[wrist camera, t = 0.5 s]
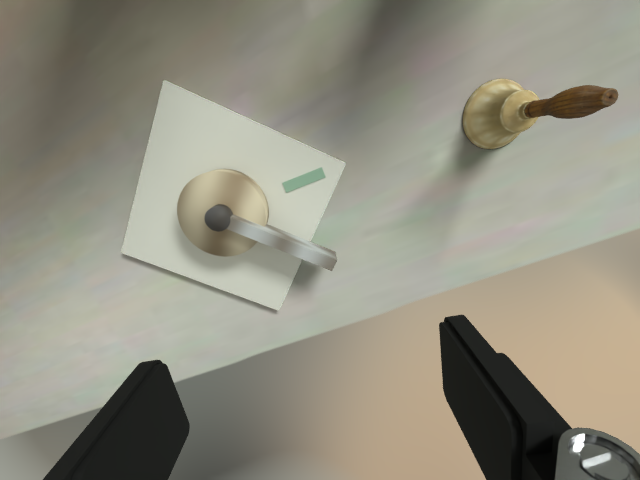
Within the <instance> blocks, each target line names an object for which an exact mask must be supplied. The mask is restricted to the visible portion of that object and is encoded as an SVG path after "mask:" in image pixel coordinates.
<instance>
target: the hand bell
mask: <svg viewBox="0 0 640 480" xmlns="http://www.w3.org/2000/svg"><path fill="white" fill-rule="evenodd" d="M617 99H618V92H617V90H616V89H613V88H603V87H599V86H592V85H585V86H579V87H574V88H571V89H568V90H565V91H563V92H561V93H559V94H557V95H555V96H554V97H552V98H549V99H543V100H539V98H538V96H537V95H536V94H535V93H533V92H532V91H529V90H524V89H523V88H522V87H521V86H520V85H519V84H518V83H516V82H514V81H512V80H509V79H495V80H491V81H489V82H487V83H485V84H483V85H482V86H480V87H479V88H478V89H477V90H476V91H475V92H474V93H473V94H472V95H471V97H470V98H469V100H468V102H467V104H466V106H465V109H464V113H463V127H464V131H465V134H466V136H467V137H468V139H469V140H470V141H471V142H472V143H473V144H475V145H476V146H478V147H480V148H484V149H496V148H500V147H502V146H505V145H507V144H508V143H510V142H511V141H513V140H514V139H515V138H516V137H517V136H518V135H519V134H520V133H521V132H523V131H525V130H527V129H529V128H530V127H531V126H532V125H533V124H534V123H535V122H536V120H537V119H538V117H540V116H546V115H551V116H553V117H556V118H565V119H570V118H580V117H585V116H588V115H590V114H593V113H595V112H597V111H599V110H601V109H603V108H605V107H608V106H611V105H612V104H614V103H615V102H616V100H617Z"/></svg>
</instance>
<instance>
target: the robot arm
mask: <svg viewBox="0 0 640 480" xmlns="http://www.w3.org/2000/svg"><path fill="white" fill-rule="evenodd" d="M439 329H440V345H441V361H442V376H443V389H444V394H445V397H446V400H447V402H448V404H449V406H450V408H451V409H452V412H453V414H454V416H455V418H456V420H457V422H458V424H459V426H460V428H461V430H462V432H463V433H464V436H465V438H466V440H467V442H468V444H469V446H470V448H471V450H472V452H473V454H474V456H475V458H476V460H477V462H478V464H479V466H480V468H481V470H482V472H483V474H484V475H485V478H486V480H640V454H639V453H637V452H636V451H635V450H634V449H633V448H632V447H630V446H629V445H627V444H626V443H624V442H622V441H621V440H619V439H618V438H616V437H613V436H611V435H609V434H607V433H604V432H601V431H597V430H594V429H590V428H574V429H572V428H571V427H570V426H569V425H568V423H567V422H566V421H565V420H564V419H563V418H562V417H561V416H560V415H559V413H557V411H556V410H555V409H554V408H553V407H552V406H551V404H550V403H549V402H548V401H547V400H546V399H545V398H544V397H543V395H542V394H541V393H540V392H539V391H538V390H537V389H536V388H535V387H534V385H533V384H532V383H531V382H530V381H529V380H528V379H527V378H526V376H525V375H523V373H522V372H521V371H520V370H519V369H518V368H517V366H516V365H515V364H514V363H513V362H512V361H511V360H510V359H509V357H507V356H506V355H505V354H503V353H496V352H495V351H494V349H493V348H492V347H491V346H490V345H489V344H488V342H487V341H486V340H485V339H484V338H483V337H482V335H481V334H480V333H479V332H478V331H477V330H476V328H475V327H474V326H473V325H472V324H471V323H470V322H469V320H468V319H467V318H466V317H465V316H464V315H458V316H450V317H445V319H444V322H441V323H440V324H439ZM188 433H189V422H188V419H187V416H186V414H185V411H184V408H183V406H182V403H181V401H180V398H179V395H178V393H177V391H176V388H175V385H174V382H173V380H172V377H171V375H170V372H169V370H168V367H167V365H166V364H164V363H162V362H161V361H160V360H153V361H147V362H142V363H140V364H139V365H138V366H137V367H136V368H135V369H134V370H133V372H132V373H131V374H130V375H129V376H128V378H127V379H126V380H125V381H124V382H123V384H122V385H121V386H120V387H119V388H118V390H117V391H116V392H115V393H114V395H113V396H112V397H111V398H110V399H109V401H108V402H107V403H106V404H105V405H104V407H103V408H102V409H101V410H100V412H99V413H98V414H97V415H96V416H95V417H94V419H93V420H92V421H91V422H90V424H89V425H88V426H87V427H86V428H85V430H84V431H83V432H82V433H81V434H80V435H79V437H78V438H77V439H76V440H75V441H74V443H73V444H72V445H71V446H70V448H69V449H68V450H67V451H66V452H65V453H64V455H63V456H62V457H61V459H60V460H59V461H58V462H57V463H56V465H55V466H54V467H53V468H52V469H51V470H50V472H49V473H48V474H47V475H46V476H45V478H44V479H43V480H168V478H169V476H170V474H171V471H172V469H173V467H174V464H175V462H176V460H177V458H178V456H179V454H180V452H181V449H182V447H183V445H184V443H185V440H186V438H187V436H188Z"/></svg>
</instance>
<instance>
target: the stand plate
mask: <svg viewBox="0 0 640 480" xmlns="http://www.w3.org/2000/svg"><path fill="white" fill-rule="evenodd" d="M345 165H346V163H345V162H343V161H341V160H339V159H337V158H334V157H332V156H330V155H328V154H326V153H324V152H321V151H319V150H317V149H315V148H313V147H310V146H308V145H306V144H304V143H302V142H300V141H297V140H295V139H293V138H291V137H289V136H286V135H284V134H282V133H280V132H278V131H275V130H273V129H271V128H269V127H267V126H265V125H262V124H260V123H258V122H256V121H254V120H251V119H249V118H247V117H245V116H243V115H241V114H238V113H236V112H234V111H232V110H230V109H227V108H225V107H223V106H221V105H219V104H216V103H214V102H212V101H210V100H208V99H206V98H203V97H201V96H199V95H197V94H195V93H192V92H190V91H188V90H186V89H184V88H182V87H179V86H177V85H175V84H173V83H171V82H168V81H166V80H163V84H162V88H161V92H160V96H159V101H158V105H157V109H156V113H155V117H154V121H153V125H152V129H151V133H150V137H149V141H148V145H147V149H146V153H145V157H144V161H143V165H142V169H141V173H140V177H139V181H138V185H137V189H136V193H135V198H134V202H133V206H132V210H131V214H130V218H129V222H128V226H127V230H126V234H125V238H124V242H123V246H122V250H121V253H123V254H126V255H128V256H131V257H134V258H136V259H139V260H142V261H145V262H147V263H150V264H153V265H155V266H158V267H161V268H164V269H166V270H169V271H172V272H175V273H177V274H180V275H183V276H185V277H188V278H191V279H194V280H196V281H199V282H202V283H204V284H207V285H210V286H213V287H215V288H218V289H221V290H224V291H226V292H229V293H232V294H234V295H237V296H240V297H243V298H245V299H248V300H251V301H253V302H256V303H259V304H262V305H264V306H267V307H270V308H272V309H275V310H278V311H279V310H280V308H281V306H282V304H283V301H284V299H285V297H286V295H287V293H288V290H289V288H290V286H291V284H292V282H293V279H294V277H295V275H296V273H297V271H298V268H299V266H300V264H301V262H302V260H303V259H300V258H298V257H295V256H293V255H290V254H288V253H285V252H283V251H280V250H278V249H275V248H273V247H270V246H268V245H265V244H263V243H260V242H257V243H256V244H255V245H254V246H253V247H252V248H251V249H249V250H248V251H246V252H244V253H242V254H239V255H235V256H227V257H224V256H216V255H212V254H209V253H207V252H204V251H202V250H201V249H199V248H198V247H196V246H195V245H194V244H193V243H192V242H191V241H190V240H189V239H188V238H187V237H186V235H185V234H184V232H183V231H182V229H181V227H180V224H179V221H178V216H177V203H178V199H179V196H180V193H181V192H182V190H183V188H184V187H185V185H186V184H187V183H188V182H189V181H190V180H192V179H193V178H195V177H196V176H198V175H200V174H203V173H206V172H209V171H212V170H216V169H232V170H236V171H239V172H242V173H244V174H246V175H247V176H249V177H250V178H252V179H253V180H254V181H255V182H256V183H257V184H258V185H259V186H260V188H261V189H262V190H263V192H264V194H265V196H266V199H267V202H268V206H269V218H268V223H267V224H268V225H271V226H273V227H276V228H278V229H281V230H283V231H285V232H288V233H290V234H293V235H295V236H298V237H300V238H303V239H305V240H307V241H310V242H311V240H312V237H313V235H314V233H315V231H316V229H317V226H318V224H319V222H320V220H321V218H322V215H323V213H324V211H325V209H326V207H327V204H328V202H329V200H330V198H331V196H332V193H333V191H334V189H335V187H336V185H337V182H338V180H339V178H340V176H341V174H342V171H343V169H344V167H345Z"/></svg>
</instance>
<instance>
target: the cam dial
mask: <svg viewBox="0 0 640 480" xmlns="http://www.w3.org/2000/svg"><path fill="white" fill-rule="evenodd" d="M177 216H178V221H179V224H180V227H181V229H182V231H183V232H184V234H185V235H186V237H187V238H188V239H189V240H190V241H191V242H192V243H193V244H194V245H195V246H196V247H198V248H199V249H201V250H202V251H204V252H207V253H209V254H212V255H216V256H224V257H227V256H235V255H239V254H242V253H244V252H246V251H248V250H249V249H251V248H252V247H253V246H254V245H255V244H256V243H257V242H260V243H263V244H265V245H268V246H270V247H273V248H275V249H278V250H280V251H283V252H285V253H288V254H290V255H293V256H295V257H298V258H300V259H303V260H305V261H308V262H310V263H313V264H316V265H318V266H321V267H323V268H326V269H328V270H331V271H332V270H333V268H334V266H335V264H336V262H337V257H336V252H334V251H332V250H329V249H327V248H325V247H322V246H320V245H317V244H315V243H312V242H310V241H307V240H305V239H303V238H300V237H298V236H295V235H293V234H290V233H288V232H285V231H283V230H281V229H278V228H276V227H273V226H271V225H268V224H267V223H268V218H269V206H268V202H267V199H266V196H265V194H264V192H263V190H262V189H261V188H260V186H259V185H258V184H257V183H256V182H255V181H254V180H253V179H252V178H250V177H249V176H247V175H246V174H244V173H242V172H239V171H236V170H232V169H216V170H212V171H209V172H206V173H203V174H200V175H198V176H196V177H195V178H193V179H192V180H190V181H189V182H188V183H187V184H186V185H185V187H184V188H183V190H182V192H181V193H180V196H179V199H178V203H177Z"/></svg>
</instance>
